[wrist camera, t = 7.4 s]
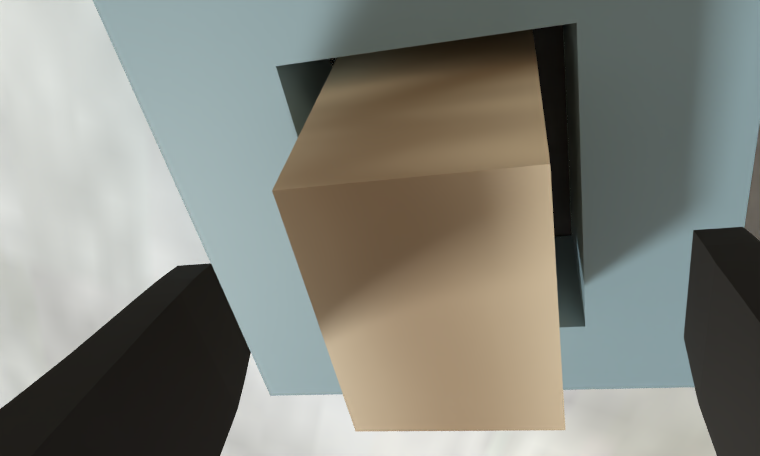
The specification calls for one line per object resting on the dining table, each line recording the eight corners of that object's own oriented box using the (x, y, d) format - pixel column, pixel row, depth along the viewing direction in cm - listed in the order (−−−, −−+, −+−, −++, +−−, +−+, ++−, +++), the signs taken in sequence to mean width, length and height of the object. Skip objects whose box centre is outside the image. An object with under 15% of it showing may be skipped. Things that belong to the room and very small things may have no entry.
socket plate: (730, -189, 10) (801, -166, 8) (687, 289, 16) (720, 386, 14) (159, -71, 12) (80, -27, 10) (299, 309, 18) (270, 395, 16)
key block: (528, 0, 12) (550, 163, 8) (543, 213, 15) (564, 430, 10) (351, 27, 13) (271, 190, 8) (396, 225, 16) (355, 431, 11)
